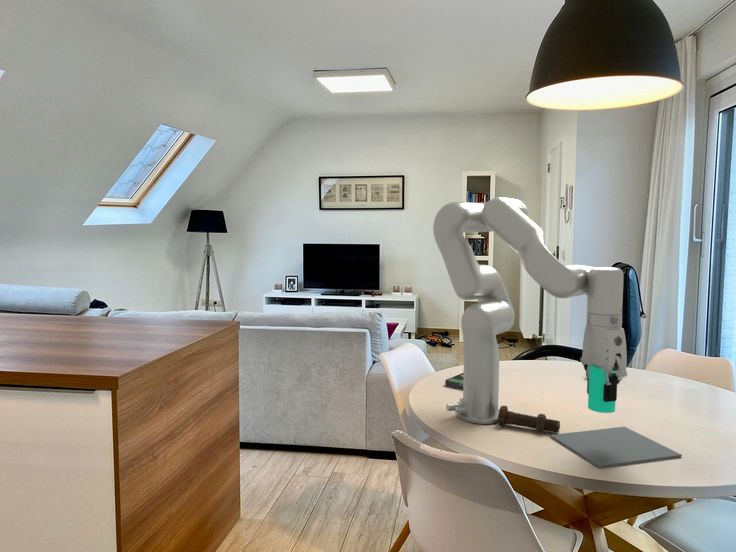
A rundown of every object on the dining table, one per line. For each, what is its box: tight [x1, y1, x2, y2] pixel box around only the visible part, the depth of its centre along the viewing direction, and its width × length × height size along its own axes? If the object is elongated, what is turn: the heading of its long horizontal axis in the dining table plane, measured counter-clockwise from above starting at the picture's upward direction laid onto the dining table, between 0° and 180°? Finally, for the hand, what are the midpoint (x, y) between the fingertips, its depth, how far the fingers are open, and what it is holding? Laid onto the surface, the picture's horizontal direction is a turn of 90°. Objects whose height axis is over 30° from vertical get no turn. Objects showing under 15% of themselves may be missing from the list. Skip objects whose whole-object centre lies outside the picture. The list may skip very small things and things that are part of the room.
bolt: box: [497, 405, 561, 434], centre depth 139 cm, size 6×5×15 cm
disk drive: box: [444, 372, 464, 391], centre depth 179 cm, size 10×3×15 cm
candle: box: [587, 364, 616, 414], centre depth 125 cm, size 6×6×12 cm
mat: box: [549, 426, 683, 469], centre depth 128 cm, size 22×18×1 cm
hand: (601, 396), depth 125 cm, fingers closed on candle, 4 cm apart
